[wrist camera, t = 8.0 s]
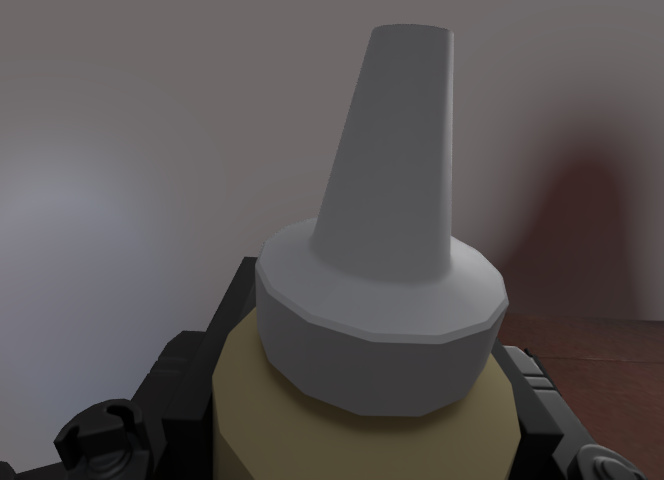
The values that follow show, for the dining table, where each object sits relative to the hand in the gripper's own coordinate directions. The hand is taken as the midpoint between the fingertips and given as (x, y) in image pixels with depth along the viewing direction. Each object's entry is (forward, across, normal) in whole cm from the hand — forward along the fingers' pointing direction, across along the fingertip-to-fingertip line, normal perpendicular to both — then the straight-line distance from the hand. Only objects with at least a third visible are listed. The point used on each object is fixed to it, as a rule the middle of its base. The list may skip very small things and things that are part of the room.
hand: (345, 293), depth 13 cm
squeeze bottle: (-5, 0, -10) cm, 11 cm away
